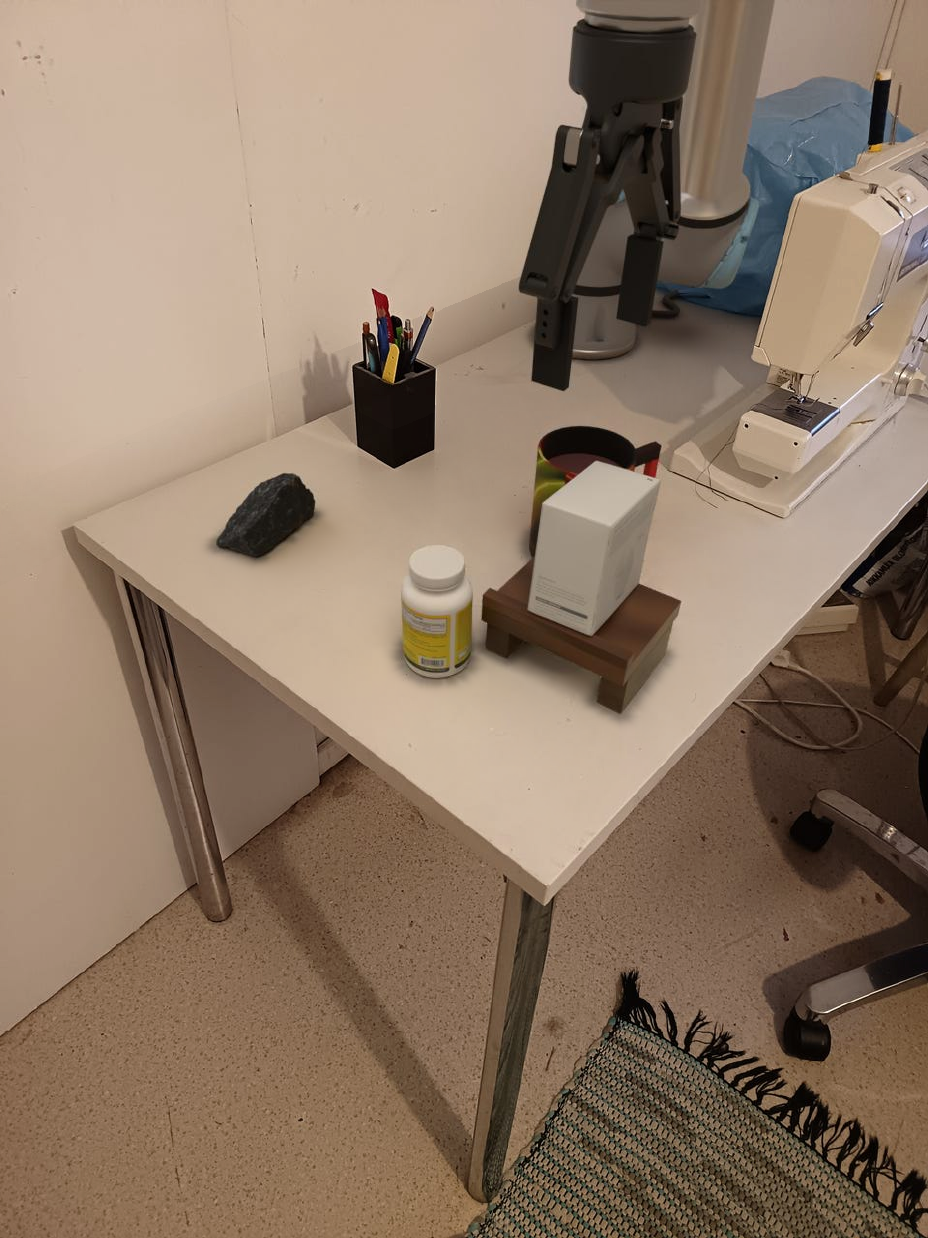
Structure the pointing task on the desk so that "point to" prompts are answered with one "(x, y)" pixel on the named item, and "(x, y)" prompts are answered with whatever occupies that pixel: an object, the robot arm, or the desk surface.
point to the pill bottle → (437, 612)
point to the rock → (268, 515)
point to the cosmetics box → (591, 545)
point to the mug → (582, 462)
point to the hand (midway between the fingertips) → (594, 351)
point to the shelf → (612, 652)
